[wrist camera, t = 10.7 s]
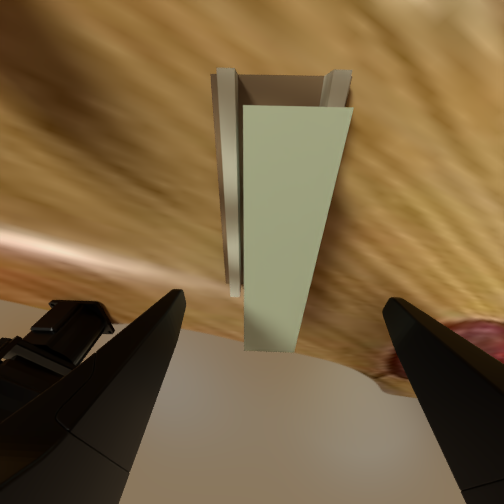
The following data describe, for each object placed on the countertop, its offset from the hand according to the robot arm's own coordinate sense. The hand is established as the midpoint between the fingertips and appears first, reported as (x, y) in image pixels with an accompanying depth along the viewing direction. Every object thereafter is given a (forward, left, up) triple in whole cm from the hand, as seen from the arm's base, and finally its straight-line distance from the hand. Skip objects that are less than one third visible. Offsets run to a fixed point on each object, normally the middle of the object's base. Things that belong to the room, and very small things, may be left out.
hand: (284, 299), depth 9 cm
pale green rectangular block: (0, 0, -11) cm, 11 cm away
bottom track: (0, 0, -12) cm, 12 cm away
